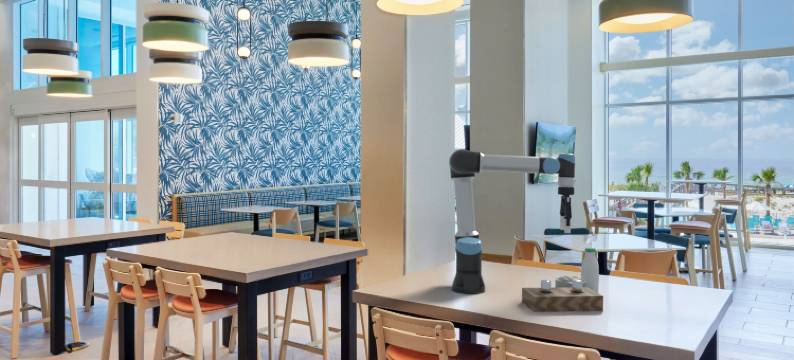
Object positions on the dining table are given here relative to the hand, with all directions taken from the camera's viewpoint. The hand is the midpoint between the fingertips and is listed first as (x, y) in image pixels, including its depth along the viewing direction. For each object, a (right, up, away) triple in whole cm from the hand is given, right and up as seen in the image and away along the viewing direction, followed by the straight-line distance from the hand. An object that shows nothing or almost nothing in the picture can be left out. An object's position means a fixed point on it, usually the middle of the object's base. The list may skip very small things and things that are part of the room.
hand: (565, 231), depth 271 cm
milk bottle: (+8, -27, -9) cm, 30 cm away
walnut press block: (-13, -27, -37) cm, 48 cm away
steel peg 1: (-19, -23, -38) cm, 48 cm away
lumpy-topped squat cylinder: (-4, -27, -19) cm, 34 cm away
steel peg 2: (-6, -23, -37) cm, 44 cm away
